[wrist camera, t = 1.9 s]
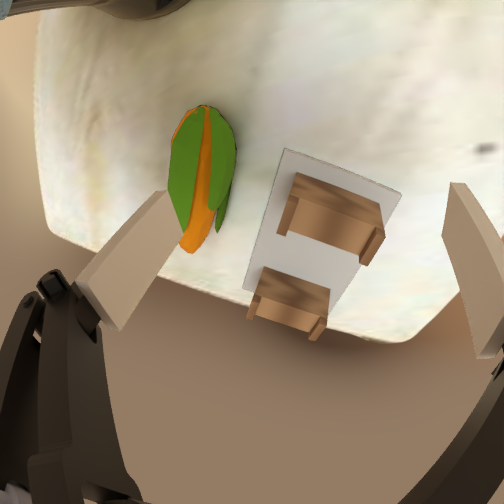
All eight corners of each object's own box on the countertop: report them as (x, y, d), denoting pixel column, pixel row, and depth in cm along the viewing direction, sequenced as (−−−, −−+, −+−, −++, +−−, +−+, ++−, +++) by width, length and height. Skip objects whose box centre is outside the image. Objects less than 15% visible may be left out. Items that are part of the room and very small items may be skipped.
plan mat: (243, 285, 46) (242, 288, 46) (285, 148, 31) (284, 149, 31) (327, 314, 46) (327, 317, 45) (401, 193, 30) (401, 195, 30)
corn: (227, 125, 23) (204, 284, 37) (255, 108, 29) (228, 247, 42) (154, 109, 24) (153, 262, 38) (194, 94, 30) (181, 230, 43)
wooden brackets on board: (258, 281, 45) (245, 318, 40) (297, 169, 32) (287, 200, 27) (320, 302, 44) (314, 341, 39) (378, 200, 32) (385, 237, 26)
